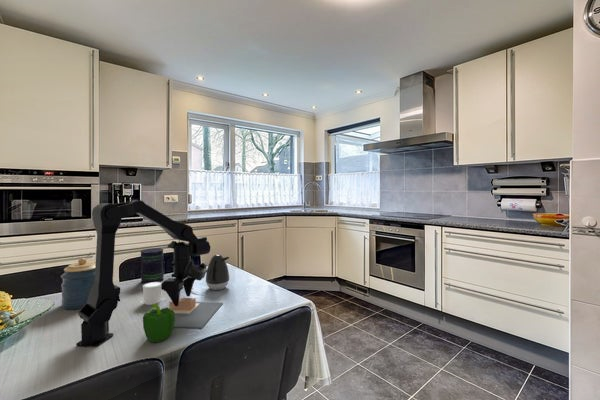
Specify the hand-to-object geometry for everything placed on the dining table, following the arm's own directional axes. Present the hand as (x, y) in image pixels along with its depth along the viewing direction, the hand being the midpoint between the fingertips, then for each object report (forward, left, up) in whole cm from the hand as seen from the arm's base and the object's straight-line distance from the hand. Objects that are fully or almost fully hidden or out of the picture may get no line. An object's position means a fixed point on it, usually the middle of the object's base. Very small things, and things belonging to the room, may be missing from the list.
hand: (182, 300), depth 105 cm
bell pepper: (-20, -3, -3) cm, 21 cm away
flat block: (0, 0, -3) cm, 3 cm away
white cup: (+6, +15, -3) cm, 16 cm away
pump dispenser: (+23, -5, -3) cm, 24 cm away
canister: (+3, +41, -3) cm, 41 cm away
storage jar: (+31, +30, -3) cm, 43 cm away
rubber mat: (-4, -4, -3) cm, 6 cm away
